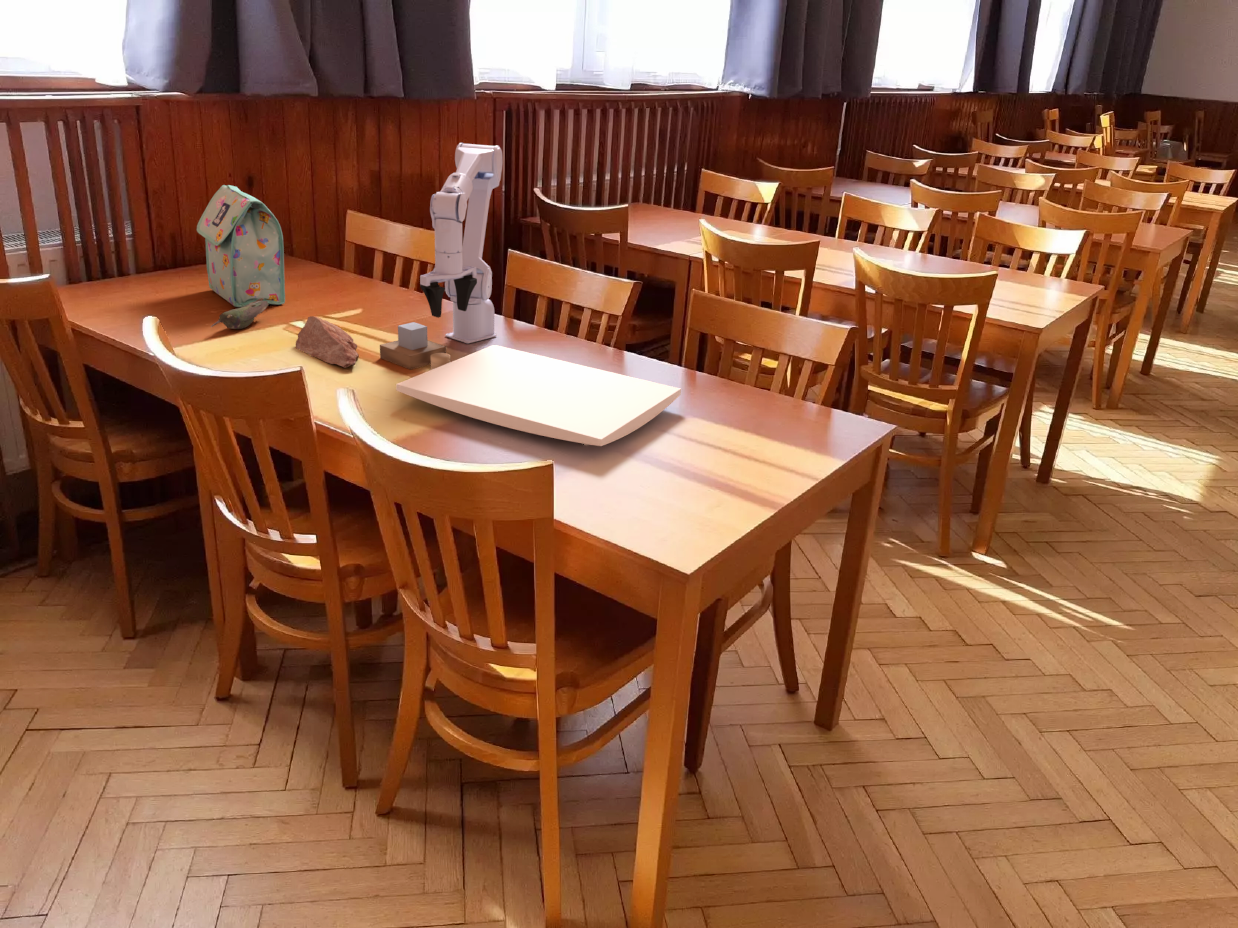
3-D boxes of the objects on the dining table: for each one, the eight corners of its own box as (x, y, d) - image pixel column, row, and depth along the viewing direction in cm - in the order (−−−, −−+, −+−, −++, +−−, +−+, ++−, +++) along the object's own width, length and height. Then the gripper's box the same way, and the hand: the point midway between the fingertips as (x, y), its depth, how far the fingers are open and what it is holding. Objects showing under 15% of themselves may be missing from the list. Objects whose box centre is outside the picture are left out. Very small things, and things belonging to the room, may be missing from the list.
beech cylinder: (441, 374, 206) (441, 351, 204) (454, 379, 204) (454, 356, 202) (426, 378, 203) (426, 355, 201) (439, 383, 201) (439, 360, 199)
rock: (330, 369, 201) (360, 331, 203) (284, 340, 218) (312, 305, 220) (364, 396, 209) (393, 359, 210) (317, 366, 225) (344, 332, 227)
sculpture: (202, 336, 220) (200, 314, 218) (261, 316, 236) (260, 296, 234) (219, 339, 218) (216, 317, 216) (277, 319, 235) (275, 299, 233)
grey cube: (414, 341, 216) (413, 322, 214) (427, 346, 213) (427, 326, 211) (398, 345, 213) (397, 325, 211) (411, 350, 210) (411, 330, 208)
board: (679, 410, 196) (681, 388, 194) (599, 464, 170) (601, 439, 168) (494, 365, 215) (494, 344, 213) (396, 407, 189) (396, 384, 187)
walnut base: (416, 349, 221) (415, 336, 219) (446, 359, 215) (445, 346, 214) (380, 358, 213) (379, 344, 212) (410, 369, 208) (409, 355, 206)
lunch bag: (200, 290, 254) (188, 183, 243) (264, 284, 263) (255, 181, 252) (227, 312, 238) (215, 199, 227) (294, 305, 247) (285, 196, 236)
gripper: (460, 243, 215) (460, 303, 220) (409, 251, 204) (411, 315, 210) (483, 248, 211) (483, 310, 217) (432, 258, 200) (434, 322, 206)
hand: (449, 313), depth 213 cm, fingers open, 7 cm apart
